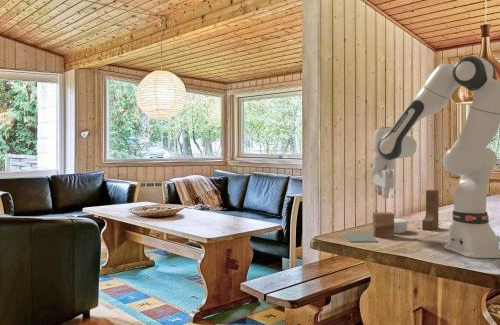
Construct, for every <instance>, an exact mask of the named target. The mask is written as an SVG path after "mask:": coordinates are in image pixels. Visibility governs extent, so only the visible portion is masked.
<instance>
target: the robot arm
mask: <svg viewBox="0 0 500 325" xmlns="http://www.w3.org/2000/svg"><path fill="white" fill-rule="evenodd" d="M495 76H496V68H495V66H494V64H493V63H492V62H491V61H490V60H488V59H486V58H484V57H480V56H472V55H470V56H469V55H468V56H464V57H462V58H460V59H459V60H457V61H456V62H455V64H451V63H440V64H439V65H438V66H436V68H434V70H433V71H432V72H431V73H430V74H429V76H428V78H426V81H425V82H424V83H423V85H422V87H421V88H420V89H419V91H418V93H416V96H415V97H414V98H413V100H412V101H411V102H410V103H409V104H408V106H406V108H405V109H404V110H403V112H402V113H401V115H400V116H399V117H398V119H397V120H396V122H395V123H394V124H393V125H392V127H391V126H385V127H380V128H379V127H378V128H376V129H375V130H374V134H373V138H372V141H373V142H372V150H373V156H372V162H371V164H370V168H372V170H371V171H372V172H371V174H372V183H373V184H374V185H375V186H376V192H377V194H376V195H377V196H383V197H382V198H383V199H389V195H390V189H394V185H395V184H394V183H395V181H394V180H395V178H394V177H395V176H394V171H393V170H394V169H395V160H396V159H407V158H411V157H412V156H413V155H414V154H415V152H416V151H417V142H416V140H415V138H414V137H412V136H410V135H408V134H409V132H410V131H411V130H412V129H413V127H414V126H415V125H416V123H418V122H419V121H420V120H422V119H424V118H426V117H429V116H431V115H434V114H437V113H438V112H440V111H441V110H442V109H443V108H444V107H445V106H446V104H447V103H448V102H449V100H450V98H451V97H452V95H453V94H454V92H455V90H457V89H458V88H459V87H460V86H462V87H463V88H465V89H466V90H469V91H470V92H473V99H472V102H471V104H470V105H471V106H470V108H469V111H468V115H467V118H466V121H465V123H464V125H463V128H462V130H461V132H460V134H459V135H458V137H457V139H455V142H454V143H453V144H452V146H451V147H450V148H449V149H447V151H445V153H444V154H443V156H442V166H443V168H444V169H445V170H446V171H447V172H448V173H450V174H452V175H455V176H460V177H459V182H458V183H457V186H455V188H454V191H453V210H452V213H451V214H452V215H451V216H452V220H453V221H452V223H451V224H450V225H449V227H448V234H447V236H448V237H447V244H444V247H443V249H446V250H449V251H451V252H454V253H456V254H459V255H462V256H464V257H468V258H476V259H500V235H497V234H496V233H495V232H494V230H493V228H492V227H491V225H490V218H489V217H490V216H489V214H488V212H487V193H488V186H489V183H490V179H491V175H492V172H493V170H494V168H496V166H497V163H498V156H497V154H496V152H495V151H494V150H493V149H492V148H489V147H487V146H488V145H489V144H490V142H491V140H493V138H495V137H496V136H497V134H498V131H499V128H500V80H498V79H495Z"/></svg>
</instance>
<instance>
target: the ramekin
mask: <svg viewBox="0 0 500 325" xmlns="http://www.w3.org/2000/svg"><path fill="white" fill-rule="evenodd" d="M408 223H409V221H408V219H405V218H399V217H398V218H397V217H394V234H404V233H406V232H407V227H408Z"/></svg>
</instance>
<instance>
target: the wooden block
mask: <svg viewBox="0 0 500 325" xmlns="http://www.w3.org/2000/svg"><path fill="white" fill-rule="evenodd" d="M439 194H440V192H439V190H438V189H427V190H425V216H424V218H423V219H422V220H421V221H422V222H421V224H422V225H421V227H422V228H421V229H422V230H423V231H430V230H431V231H434V230H437V229H438V228H439Z"/></svg>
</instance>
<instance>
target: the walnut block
mask: <svg viewBox="0 0 500 325" xmlns="http://www.w3.org/2000/svg"><path fill="white" fill-rule="evenodd" d="M394 218H395V213H393V212H391V211H390V212H386V211H385V212H372V237H374V238H394V237H395V233H394Z"/></svg>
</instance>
